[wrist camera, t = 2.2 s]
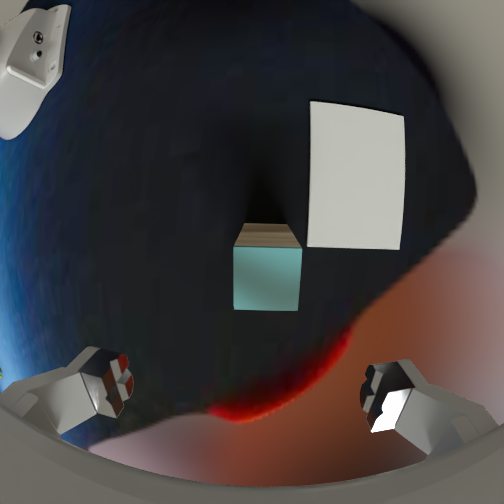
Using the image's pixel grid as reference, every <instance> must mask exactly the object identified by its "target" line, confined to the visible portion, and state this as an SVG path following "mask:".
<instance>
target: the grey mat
mask: <svg viewBox="0 0 504 504" xmlns="http://www.w3.org/2000/svg"><path fill="white" fill-rule="evenodd" d="M404 184H405V137H404V117H403V116H399V115H395V114H390V113H386V112H381V111H376V110H370V109H365V108H359V107H353V106H346V105H339V104H331V103H322V102H312V101H310V186H309V213H308V233H307V247H336V248H368V249H398V250H399V246H400V238H401V229H402V218H403V204H404Z"/></svg>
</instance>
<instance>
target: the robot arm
mask: <svg viewBox="0 0 504 504" xmlns="http://www.w3.org/2000/svg"><path fill="white" fill-rule="evenodd" d="M70 11H71V6H69V5H59V6H56V7H53V8H51V9H49V10H44V9H39V8H34V9H30V10H27V11H25V12H23V13H21V14H19V15H18V16H16V17H15V18H13V19H11V20H10V21H8V22H7V23H5V24H4V25H3V26H1V27H0V137H1V138H3V139H6V140H9V139H12V138H15V137H16V136H18V135H19V134H20V133H21V132H22V131H23V130H24V129H25V128H26V127H27V126H28V124H29V123H30V122H31V120H32V119H33V117H34V116H35V114H36V112H37V111H38V109H39V107H40V105H41V103H42V101H43V99H44V97H45V96H46V94H47V93H48V91H49V90H50V89H51V88H52V87H53V86H54V85H55V84H56V82H57V81H58V80H59V79H60V77H61V75H62V71H63V60H64V50H65V42H66V34H67V28H68V22H69V17H70ZM128 365H129V362H128V359H127V356H126V355H124V354H122V353H117V352H113V351H109V350H105V349H100V348H96V347H92V346H90V347H87V348H86V349H85V350H84V351H83V352H82V353H80V354H79V355H78V356H77V357H76V358H75V359H74V360H73V361H72V362H71V363H70V364H69V365H68V366H67V367H66V368H64V367H61V368H58V369H55V370H52V371H49V372H46V373H42V374H39V375H36V376H33V377H29V378H26V379H22V380H19V381H16V382H13V383H12V384H11V385H10V386H9V387H8V388H6V389H5V390H4V391H3V392H2V393H1V394H0V504H504V423H503V424H501V425H500V426H499V425H498V424H497V423H496V422H495V420H494V419H493V418H492V416H491V415H490V414H489V413H488V411H487V410H486V409H485V408H484V406H482V405H480V404H477V403H475V402H473V401H470V400H468V399H466V398H463V397H461V396H458V395H456V394H454V393H451V392H449V391H447V390H445V389H442V388H440V387H438V386H435V385H433V384H431V385H429V384H428V383H427V382H426V380H425V379H424V378H423V376H422V375H421V374H420V372H419V371H418V370H417V368H416V367H415V366H414V365H413V363H412V362H411V361H410V360H408V359H405V360H400V361H395V362H390V363H382V364H374V365H369V366H368V368H367V370H366V373H365V375H366V377H367V380H366V381H365V382H364V384H362V387H361V391H360V403H361V407H362V409H363V410H364V411H366V412H368V415H367V418H366V419H367V422H368V424H369V427H370V429H371V432H374V431H380V430H385V429H391V428H394V430H396V431H397V432H398V433H400V434H401V435H402V436H403V437H405V438H406V439H407V440H409V441H410V442H412V443H413V444H414V445H415V446H417V447H418V448H419V449H421V450H422V451H424V452H425V453H426V454H428V456H427V458H426V459H425V461H422V462H420V463H417V464H414V465H410V466H407V467H404V468H401V469H397V470H394V471H390V472H386V473H382V474H378V475H373V476H369V477H365V478H359V479H354V480H349V481H342V482H335V483H327V484H319V485H308V486H292V487H247V486H231V485H220V484H211V483H203V482H197V481H191V480H185V479H179V478H174V477H169V476H165V475H160V474H156V473H152V472H148V471H144V470H141V469H137V468H134V467H131V466H127V465H124V464H121V463H118V462H115V461H112V460H109V459H106V458H103V457H101V456H98V455H96V454H93V453H91V452H88V451H86V450H84V449H81V448H79V447H77V446H75V445H72V444H70V443H68V442H66V441H64V440H63V439H62V438H61V436H60V434H62V433H64V432H66V431H68V430H69V429H71V428H73V427H75V426H76V425H78V424H80V423H81V422H83V421H85V420H87V419H88V418H90V417H92V416H93V415H95V414H96V413H100V414H103V415H107V416H110V417H114V418H117V417H118V415H119V414H120V412H121V410H122V409H123V407H124V404H123V401H124V400H126V399H128V398H129V397H130V395H131V394H132V390H133V377H132V374H131V373H130V372H129V371H128V369H127V367H128Z"/></svg>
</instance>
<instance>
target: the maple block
mask: <svg viewBox="0 0 504 504" xmlns="http://www.w3.org/2000/svg"><path fill="white" fill-rule="evenodd" d="M301 260H302V248H301V246H300V244H299V243H298V241H297V240H296V238H295V236H294V235H293V233H292V231H291V230H290V228H289V227H288V225H287V224H255V223H244V226H243V228H242V230H241V232H240V234H239V236H238V239H237V241H236V243H235V245H234V309H241V310H280V311H298V299H299V287H300V274H301Z"/></svg>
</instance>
